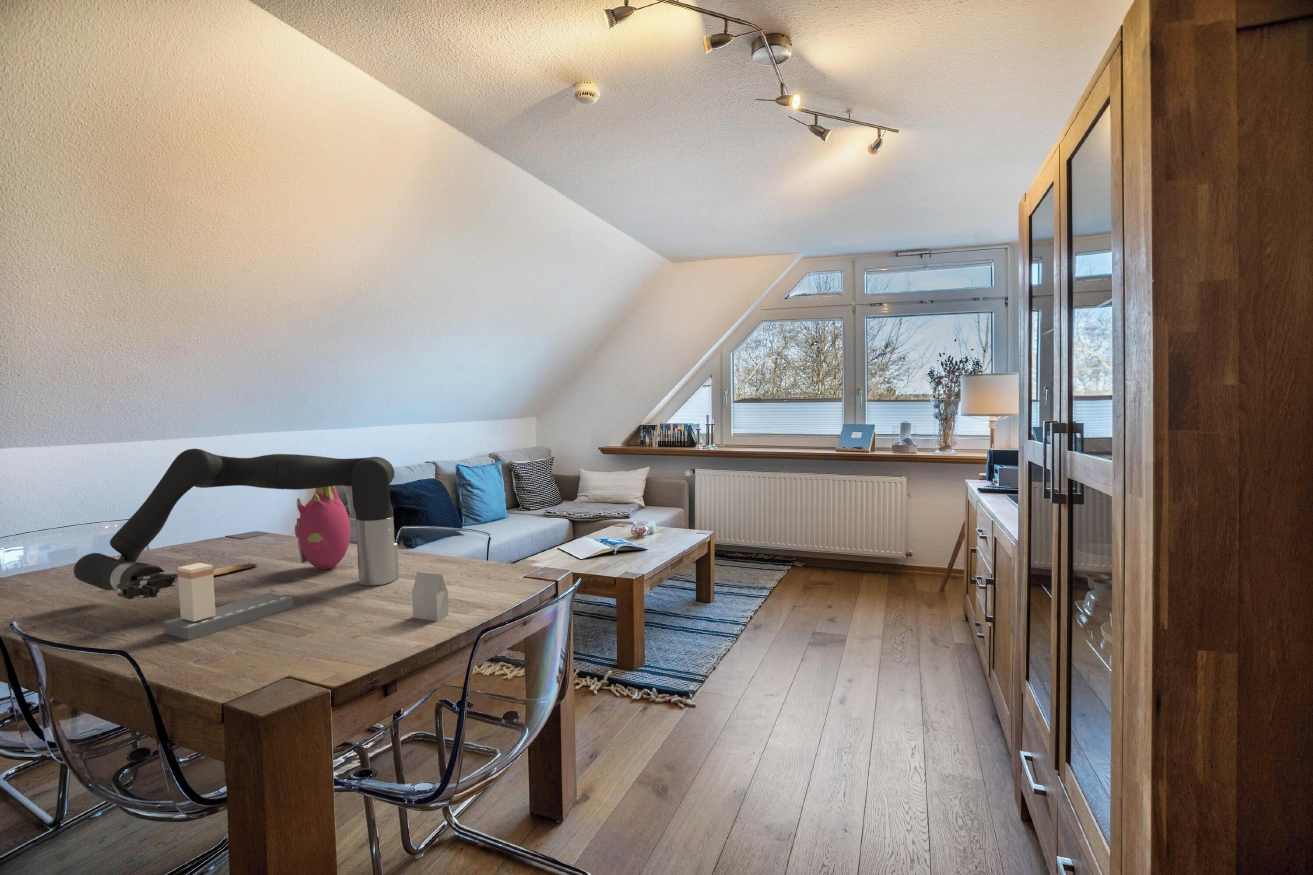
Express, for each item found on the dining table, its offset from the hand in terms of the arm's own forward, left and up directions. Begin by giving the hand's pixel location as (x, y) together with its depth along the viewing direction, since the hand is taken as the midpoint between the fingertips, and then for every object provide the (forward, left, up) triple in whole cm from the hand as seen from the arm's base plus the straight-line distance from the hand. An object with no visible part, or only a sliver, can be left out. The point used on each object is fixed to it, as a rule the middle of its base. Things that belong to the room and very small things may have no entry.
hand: (176, 587), depth 149 cm
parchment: (-28, -38, -9) cm, 48 cm away
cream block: (0, +8, -5) cm, 10 cm away
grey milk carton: (-28, +47, -9) cm, 55 cm away
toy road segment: (-7, +8, -8) cm, 13 cm away
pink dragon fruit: (-46, -13, -9) cm, 48 cm away
